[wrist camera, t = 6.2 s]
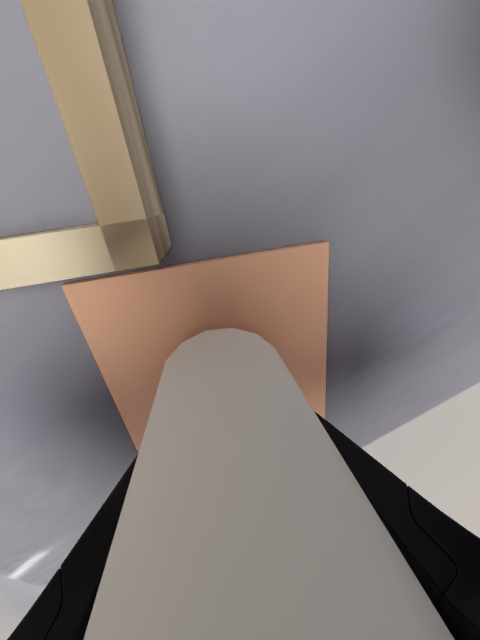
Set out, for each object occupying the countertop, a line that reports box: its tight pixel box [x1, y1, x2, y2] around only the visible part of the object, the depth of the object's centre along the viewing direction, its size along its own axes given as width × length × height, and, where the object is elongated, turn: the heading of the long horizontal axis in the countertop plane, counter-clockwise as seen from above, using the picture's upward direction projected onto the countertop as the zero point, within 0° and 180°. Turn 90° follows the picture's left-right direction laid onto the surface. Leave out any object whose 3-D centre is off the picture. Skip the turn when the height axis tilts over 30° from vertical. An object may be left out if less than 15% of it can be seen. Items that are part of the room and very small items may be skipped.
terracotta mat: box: [61, 241, 329, 453], centre depth 13 cm, size 11×11×1 cm
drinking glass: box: [83, 328, 455, 640], centre depth 7 cm, size 7×7×10 cm
